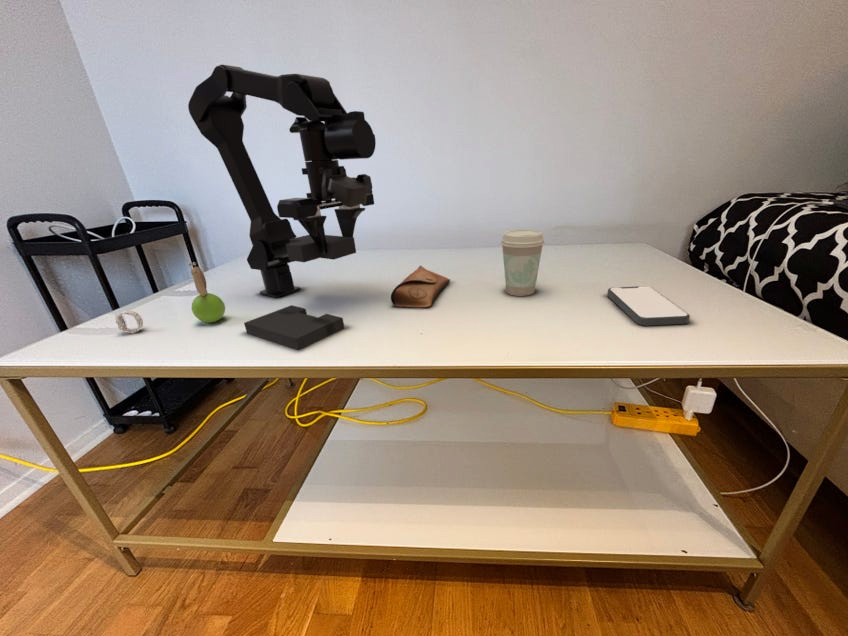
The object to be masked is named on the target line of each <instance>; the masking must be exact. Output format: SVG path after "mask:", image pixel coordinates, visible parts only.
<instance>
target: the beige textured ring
mask: <svg viewBox="0 0 848 636" xmlns="http://www.w3.org/2000/svg"><path fill="white" fill-rule="evenodd" d="M123 315H127V316H128V315H129V316H131V317H133V318H134V319H135V321H136V325H137V329H132V328H128V324H127V323H126V320H125V318H124V316H123ZM114 320H115V324H116V325H117V327H118V330H120V331H122V332H124V333H128V334H135V333H137V332H139V331H140V330H142V328H143V326H144V321H143V320H144V319H143V318H142V316H141V315H140V314H139V312H137V311H133V310H129V309H127V310H124V311H122V312H120V313H119V314H118V315H117V316H116V317H115V318H114Z"/></svg>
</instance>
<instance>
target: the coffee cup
mask: <svg viewBox="0 0 848 636" xmlns="http://www.w3.org/2000/svg"><path fill="white" fill-rule="evenodd" d="M500 245H501V247H502V258H503V259H502V260H503V269H504V279H505V290H506V291H505V292H506V293H507V294H508V295H511V296H515V297H525V296H531V295H533V294H534V293H535V291H536V286H537V285H536V284H537V280H538V273H539V269H540V268H539V267H540V262H541V257H542V251H543V246H544V245H545V238H544V236H543V232H542V231H540V230H536V229H513V230H507V231H505V232H503V235H502V238H501V242H500Z"/></svg>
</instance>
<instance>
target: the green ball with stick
mask: <svg viewBox="0 0 848 636" xmlns="http://www.w3.org/2000/svg"><path fill="white" fill-rule="evenodd" d="M187 265H188V266H189V267H190V273H191V276H192V279H193V283H194V286H195V289H196V291H197V293H198V294H199V295H197V296H196V297H195V298H194V299H193V300H192V302H191V311H192V314H193V315H194V317H195V318H196V319H198V320H199V321H201V322H202V323H203V322H204V323H216V322H218V321H219V320H221V319H222V318H223V317H224V315H225V312H226V306H225V302H224V301H223V300H222V299H221V297H220V296H218V295H217V294H214V293H208V289H207V288H208V287H207V280H206V276H205V274H204V271H202V269H201V268H200V267H199V266H196V265H197V262H195V261H193V262H188V263H187ZM192 266H194V267H193V268H192Z"/></svg>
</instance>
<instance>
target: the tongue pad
mask: <svg viewBox="0 0 848 636" xmlns="http://www.w3.org/2000/svg"><path fill="white" fill-rule="evenodd" d="M325 237H326V243H327V253H326V254H323V253H322V252H321V251H320V249H319V248H318V246H317V245H316V244H315V242H314V241H313V239H312V238H311V236H310V235H309V234H307V235H302V236H298V237H296V238H293V239H289V240H290V244H286V249H287V253H288V258H289V260H291V261H294V262H299V263H307V262H310V261H315V260H319V259H327V260H337V259H340V258H344V257H347V256H350V255H354V254H357V249H356V242H355V237H354V236H353V237H344V236H342V235H331V234H325Z"/></svg>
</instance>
